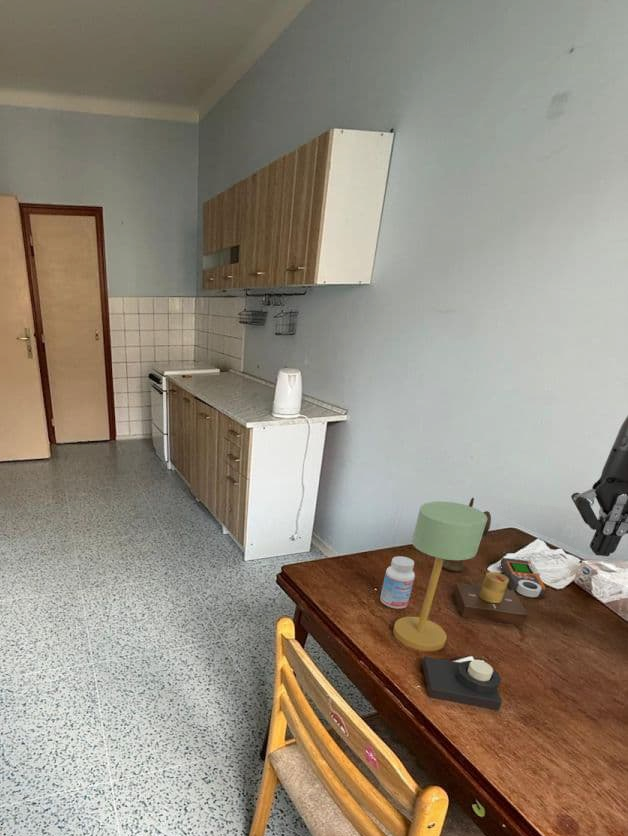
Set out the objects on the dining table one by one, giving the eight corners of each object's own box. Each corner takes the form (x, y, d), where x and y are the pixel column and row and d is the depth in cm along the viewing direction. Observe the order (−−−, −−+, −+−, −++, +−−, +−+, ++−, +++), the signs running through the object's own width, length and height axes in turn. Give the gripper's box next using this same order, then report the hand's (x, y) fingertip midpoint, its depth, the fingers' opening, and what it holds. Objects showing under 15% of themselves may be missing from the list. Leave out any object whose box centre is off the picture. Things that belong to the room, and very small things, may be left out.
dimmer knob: (474, 592, 109) (482, 571, 106) (493, 592, 109) (501, 570, 106) (486, 603, 105) (494, 581, 102) (505, 602, 105) (514, 580, 102)
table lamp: (442, 625, 103) (479, 504, 90) (452, 657, 94) (494, 528, 80) (388, 617, 106) (416, 499, 93) (392, 647, 97) (424, 521, 83)
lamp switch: (487, 669, 85) (490, 662, 85) (492, 683, 82) (495, 675, 82) (465, 665, 86) (467, 658, 86) (469, 679, 83) (472, 671, 83)
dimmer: (509, 600, 111) (514, 589, 109) (523, 625, 102) (527, 614, 101) (453, 593, 114) (456, 582, 112) (461, 616, 106) (465, 605, 104)
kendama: (475, 576, 120) (498, 504, 111) (433, 571, 123) (453, 500, 114) (470, 565, 125) (492, 495, 116) (430, 560, 128) (449, 491, 119)
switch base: (487, 676, 89) (493, 660, 87) (500, 711, 81) (507, 694, 80) (422, 665, 92) (426, 649, 90) (428, 697, 85) (434, 681, 83)
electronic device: (518, 587, 111) (502, 555, 123) (513, 597, 113) (498, 565, 125) (551, 592, 109) (532, 559, 121) (546, 602, 111) (528, 568, 123)
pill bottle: (393, 612, 108) (404, 570, 102) (374, 599, 112) (382, 557, 107) (413, 605, 110) (424, 564, 104) (393, 593, 115) (402, 552, 109)
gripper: (690, 442, 68) (637, 548, 76) (582, 437, 72) (542, 538, 80) (725, 457, 62) (664, 570, 70) (604, 450, 66) (559, 559, 74)
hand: (599, 553), depth 75 cm, fingers closed
